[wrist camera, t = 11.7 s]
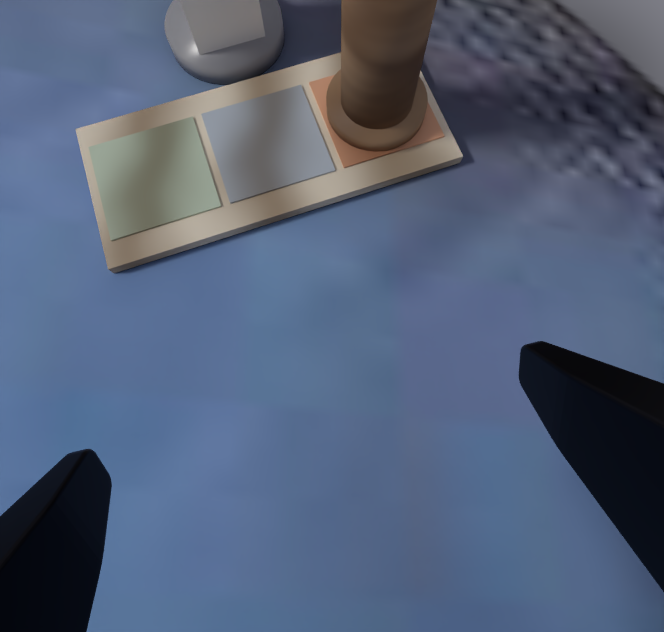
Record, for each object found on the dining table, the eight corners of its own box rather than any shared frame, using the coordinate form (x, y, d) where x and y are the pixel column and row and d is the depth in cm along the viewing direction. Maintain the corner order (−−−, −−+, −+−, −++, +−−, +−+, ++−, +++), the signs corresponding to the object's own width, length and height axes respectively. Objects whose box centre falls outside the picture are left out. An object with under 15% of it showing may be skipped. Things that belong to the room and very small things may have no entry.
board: (401, 43, 26) (403, 32, 26) (459, 162, 24) (463, 155, 24) (81, 136, 25) (74, 128, 24) (113, 273, 23) (107, 268, 22)
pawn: (439, 87, 25) (541, -249, 12) (402, 165, 23) (473, -120, 11) (351, 55, 25) (363, -296, 13) (310, 129, 24) (281, -179, 12)
